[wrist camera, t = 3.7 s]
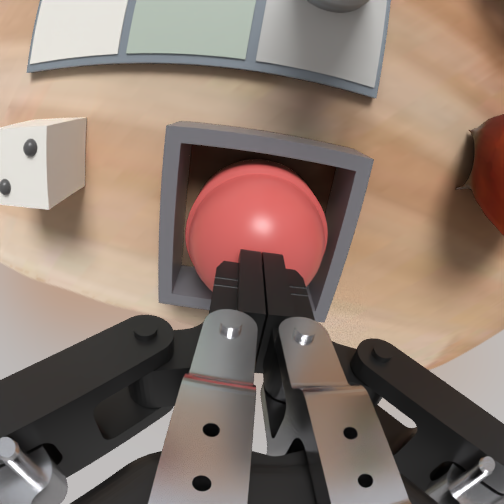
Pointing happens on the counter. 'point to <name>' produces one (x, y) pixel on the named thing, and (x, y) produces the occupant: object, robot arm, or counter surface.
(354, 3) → the ridged rounded cylinder
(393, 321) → the counter surface
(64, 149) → the die
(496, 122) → the fruit
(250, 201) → the dome
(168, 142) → the gray square tray
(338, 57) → the game board
